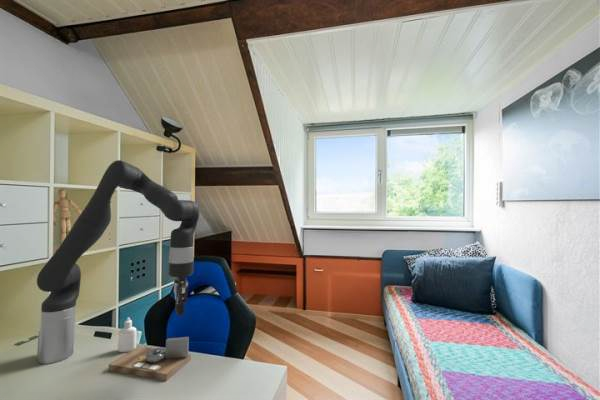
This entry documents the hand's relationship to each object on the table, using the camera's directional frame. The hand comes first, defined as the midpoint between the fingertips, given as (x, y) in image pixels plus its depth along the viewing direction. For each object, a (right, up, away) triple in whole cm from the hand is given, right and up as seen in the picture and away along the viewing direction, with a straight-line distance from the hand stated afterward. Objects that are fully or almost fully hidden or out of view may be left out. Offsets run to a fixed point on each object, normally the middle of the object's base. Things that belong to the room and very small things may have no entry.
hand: (179, 313), depth 88 cm
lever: (-7, -17, +4) cm, 19 cm away
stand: (-11, -19, +3) cm, 23 cm away
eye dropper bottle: (-26, -20, +13) cm, 35 cm away
